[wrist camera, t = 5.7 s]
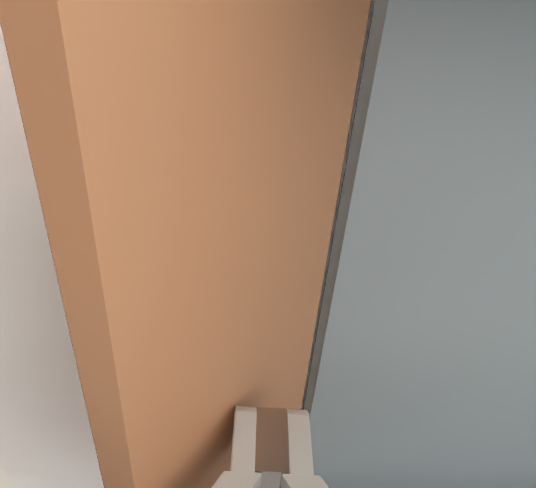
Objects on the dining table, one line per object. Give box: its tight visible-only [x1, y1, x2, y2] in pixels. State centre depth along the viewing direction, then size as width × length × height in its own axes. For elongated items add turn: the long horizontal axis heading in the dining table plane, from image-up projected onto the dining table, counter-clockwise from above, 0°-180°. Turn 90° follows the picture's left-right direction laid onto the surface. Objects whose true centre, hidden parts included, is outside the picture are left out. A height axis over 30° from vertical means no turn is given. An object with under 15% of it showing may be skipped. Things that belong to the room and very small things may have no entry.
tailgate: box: [0, 0, 371, 488], centre depth 12 cm, size 1×19×7 cm
